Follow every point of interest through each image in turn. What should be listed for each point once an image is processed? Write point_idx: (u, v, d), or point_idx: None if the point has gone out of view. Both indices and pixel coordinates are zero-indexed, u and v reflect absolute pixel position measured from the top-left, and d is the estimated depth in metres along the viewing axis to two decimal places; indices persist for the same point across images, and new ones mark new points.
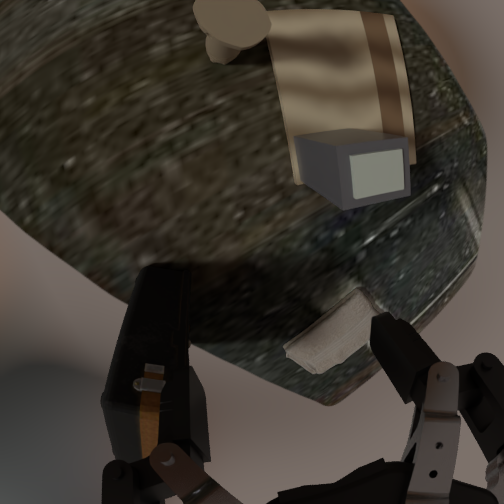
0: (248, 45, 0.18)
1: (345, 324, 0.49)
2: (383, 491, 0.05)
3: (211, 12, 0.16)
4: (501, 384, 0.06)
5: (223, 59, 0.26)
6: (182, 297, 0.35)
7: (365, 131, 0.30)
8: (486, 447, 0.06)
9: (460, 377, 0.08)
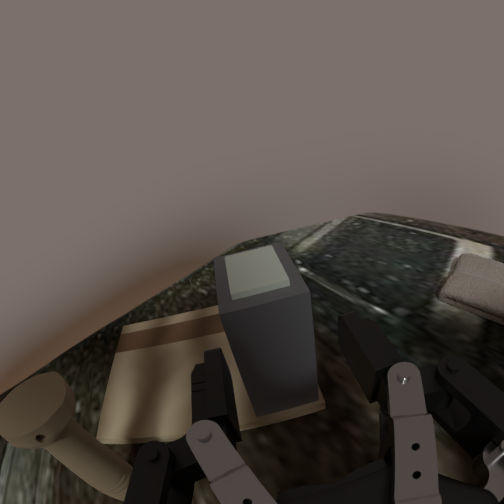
0: (63, 395, 0.12)
1: (482, 287, 0.30)
2: (383, 491, 0.05)
3: (15, 422, 0.10)
4: (471, 384, 0.07)
5: (126, 477, 0.16)
6: None
7: None
8: (467, 444, 0.06)
9: (423, 378, 0.08)
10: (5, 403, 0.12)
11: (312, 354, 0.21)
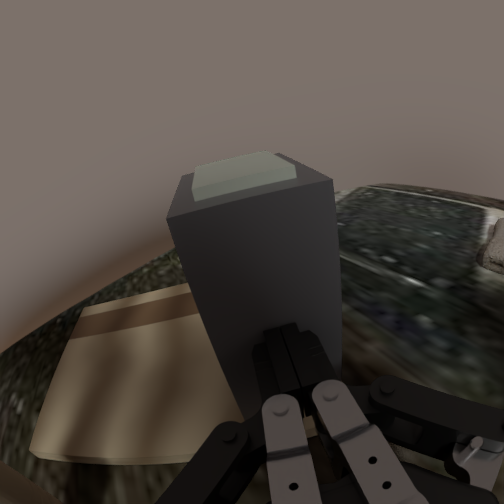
0: None
1: None
2: None
3: None
4: (415, 399, 0.07)
5: None
6: None
7: None
8: (429, 451, 0.07)
9: (355, 398, 0.09)
10: None
11: (336, 313, 0.13)
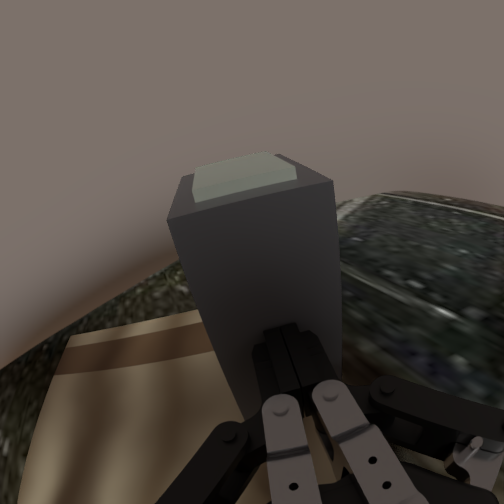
0: None
1: None
2: None
3: None
4: (415, 399, 0.07)
5: None
6: None
7: None
8: (429, 451, 0.07)
9: (355, 398, 0.09)
10: None
11: (336, 314, 0.13)
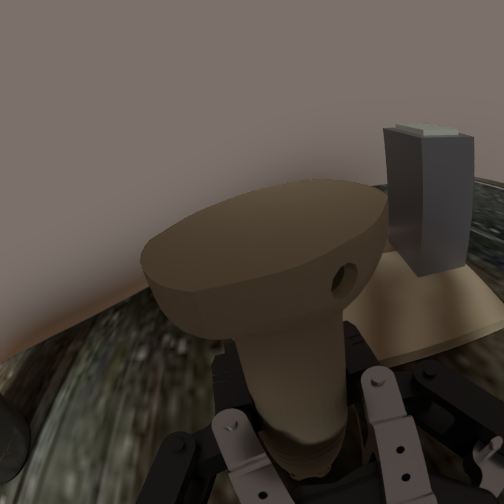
0: (376, 191, 0.07)
1: None
2: None
3: (245, 248, 0.06)
4: (451, 387, 0.07)
5: (346, 422, 0.11)
6: None
7: (390, 196, 0.29)
8: (454, 445, 0.07)
9: (400, 383, 0.09)
10: (172, 235, 0.07)
11: (470, 202, 0.21)
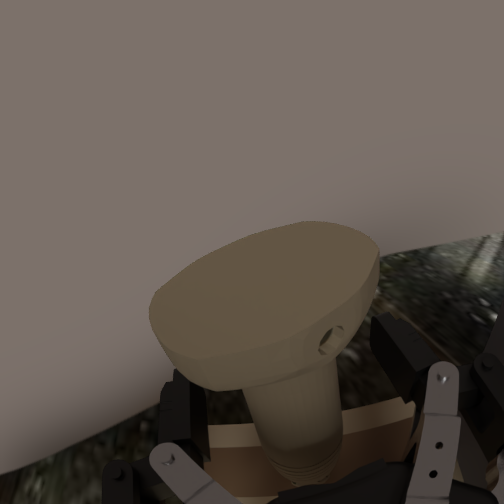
0: (369, 240, 0.08)
1: None
2: (383, 491, 0.05)
3: (243, 312, 0.06)
4: (501, 384, 0.06)
5: (342, 437, 0.11)
6: None
7: None
8: (486, 447, 0.06)
9: (460, 377, 0.08)
10: (176, 288, 0.08)
11: None
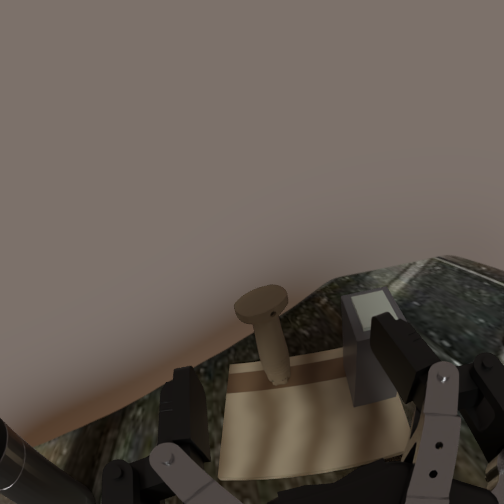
0: (285, 292, 0.34)
1: None
2: (383, 491, 0.05)
3: (255, 308, 0.33)
4: (501, 384, 0.06)
5: (288, 355, 0.38)
6: None
7: (343, 341, 0.37)
8: (486, 447, 0.06)
9: (460, 377, 0.08)
10: (239, 303, 0.34)
11: None
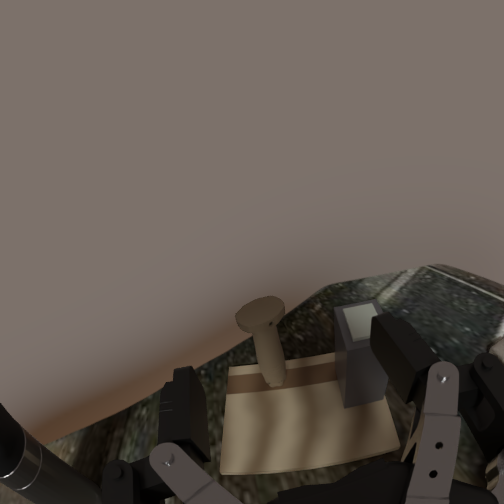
0: (283, 303, 0.37)
1: None
2: (383, 491, 0.05)
3: (255, 318, 0.36)
4: (501, 384, 0.06)
5: (284, 360, 0.41)
6: None
7: (335, 348, 0.40)
8: (486, 447, 0.06)
9: (460, 377, 0.08)
10: (240, 313, 0.37)
11: None
